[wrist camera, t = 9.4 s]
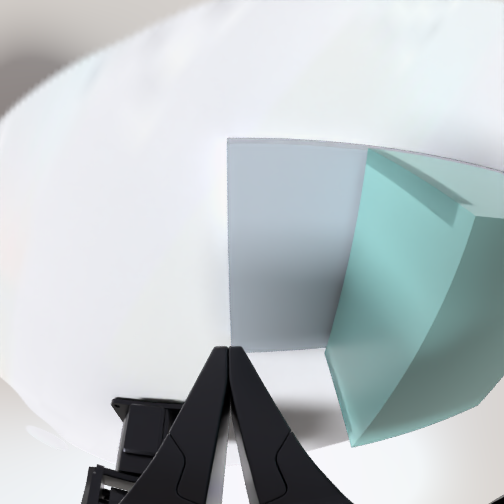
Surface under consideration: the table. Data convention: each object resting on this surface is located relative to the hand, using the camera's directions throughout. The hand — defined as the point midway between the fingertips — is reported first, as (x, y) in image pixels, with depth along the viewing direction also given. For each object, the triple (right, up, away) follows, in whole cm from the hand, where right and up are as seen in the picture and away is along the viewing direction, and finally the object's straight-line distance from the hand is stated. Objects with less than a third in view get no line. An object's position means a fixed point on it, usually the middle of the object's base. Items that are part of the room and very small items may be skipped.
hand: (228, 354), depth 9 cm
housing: (+9, +2, +4) cm, 10 cm away
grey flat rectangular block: (+12, +3, +5) cm, 14 cm away
